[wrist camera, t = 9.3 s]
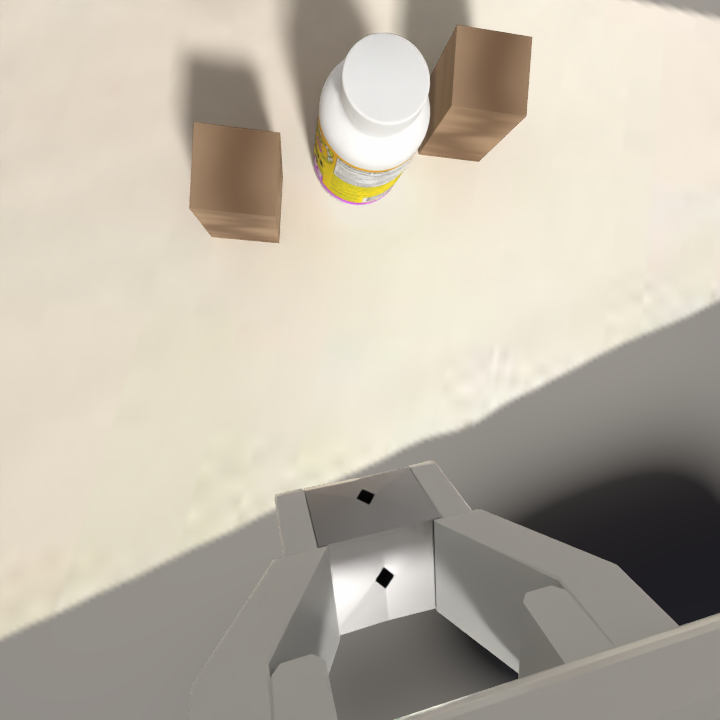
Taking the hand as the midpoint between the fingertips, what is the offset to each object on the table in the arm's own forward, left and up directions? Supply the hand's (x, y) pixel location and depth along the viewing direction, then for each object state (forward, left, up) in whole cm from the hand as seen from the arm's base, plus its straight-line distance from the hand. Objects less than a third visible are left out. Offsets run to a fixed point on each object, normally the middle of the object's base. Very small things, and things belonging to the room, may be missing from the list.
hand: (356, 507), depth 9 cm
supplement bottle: (+3, +17, -29) cm, 34 cm away
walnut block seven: (+10, +21, -29) cm, 37 cm away
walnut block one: (-5, +13, -29) cm, 32 cm away
